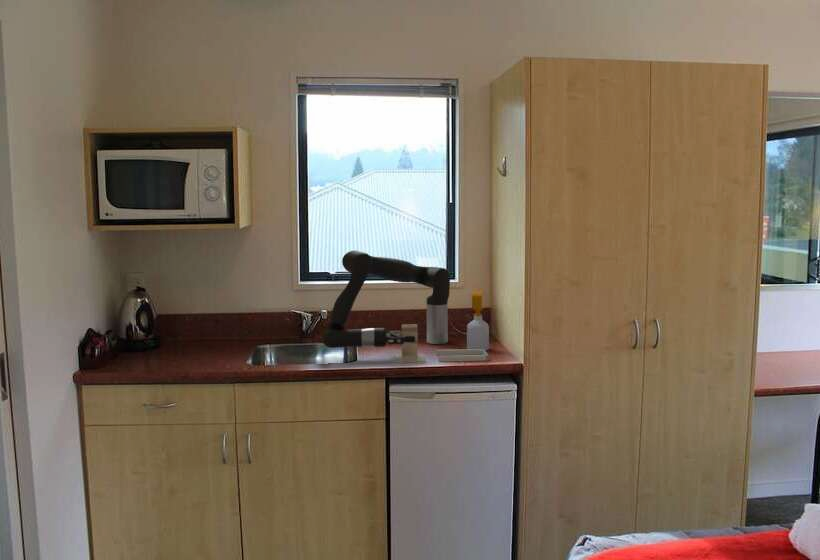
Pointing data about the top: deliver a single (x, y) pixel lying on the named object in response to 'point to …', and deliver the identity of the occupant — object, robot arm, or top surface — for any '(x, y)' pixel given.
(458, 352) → the walled channel
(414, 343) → the birch block
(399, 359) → the grey mat
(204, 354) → the top surface
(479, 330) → the soap bottle
